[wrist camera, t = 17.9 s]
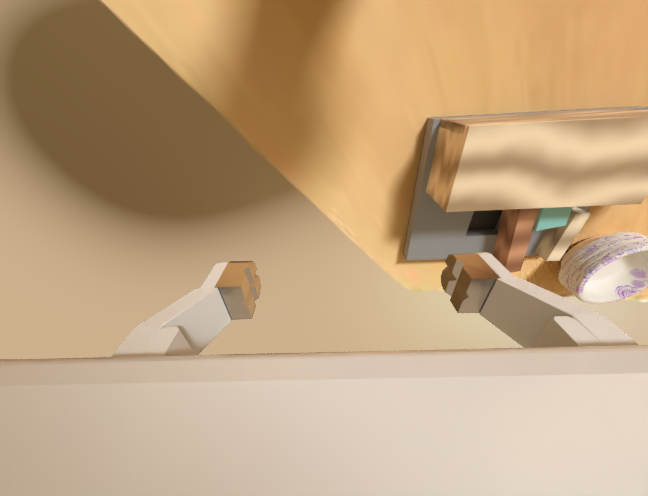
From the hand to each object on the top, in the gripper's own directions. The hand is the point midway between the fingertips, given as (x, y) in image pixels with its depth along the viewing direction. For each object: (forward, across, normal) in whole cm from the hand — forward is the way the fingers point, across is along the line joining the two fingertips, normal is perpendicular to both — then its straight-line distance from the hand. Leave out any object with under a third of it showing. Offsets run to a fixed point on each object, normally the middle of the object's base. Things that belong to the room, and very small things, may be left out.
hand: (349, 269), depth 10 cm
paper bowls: (+34, -55, +26) cm, 69 cm away
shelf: (+31, -29, +3) cm, 43 cm away
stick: (+31, -42, +18) cm, 55 cm away
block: (+31, -36, +12) cm, 49 cm away
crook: (+31, -35, +16) cm, 49 cm away
